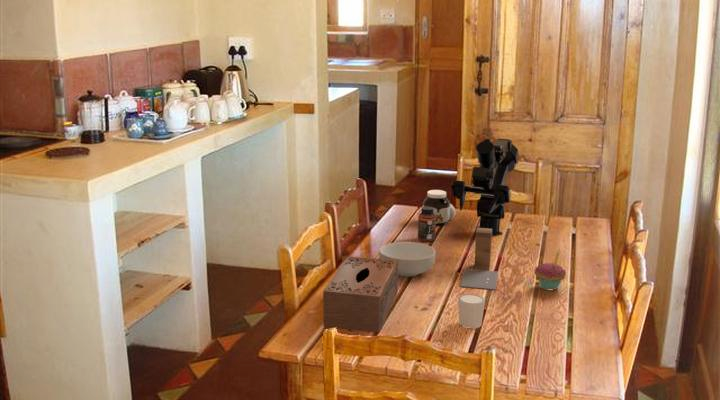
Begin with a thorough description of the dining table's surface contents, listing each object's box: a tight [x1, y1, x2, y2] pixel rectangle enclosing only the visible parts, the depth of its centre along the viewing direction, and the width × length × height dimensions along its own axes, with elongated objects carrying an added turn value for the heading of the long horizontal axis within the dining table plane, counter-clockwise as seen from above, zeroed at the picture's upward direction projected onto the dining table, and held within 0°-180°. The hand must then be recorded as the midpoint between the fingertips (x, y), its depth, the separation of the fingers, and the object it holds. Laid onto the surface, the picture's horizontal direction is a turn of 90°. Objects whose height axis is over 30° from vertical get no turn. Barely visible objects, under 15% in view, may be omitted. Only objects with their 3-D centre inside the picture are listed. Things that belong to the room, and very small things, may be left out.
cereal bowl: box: [378, 241, 437, 277], centre depth 224 cm, size 17×17×7 cm
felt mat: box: [460, 268, 499, 291], centre depth 219 cm, size 14×10×1 cm
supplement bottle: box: [417, 206, 437, 243], centre depth 252 cm, size 6×6×11 cm
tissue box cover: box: [322, 255, 399, 333], centre depth 197 cm, size 26×14×10 cm, turn 167°
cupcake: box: [534, 249, 567, 290], centre depth 212 cm, size 9×8×12 cm
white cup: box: [457, 293, 486, 330], centre depth 189 cm, size 7×7×7 cm
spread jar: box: [421, 189, 456, 227], centre depth 271 cm, size 12×11×12 cm
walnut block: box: [473, 227, 493, 271], centre depth 227 cm, size 4×4×12 cm
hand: (474, 211), depth 235 cm, fingers open, 9 cm apart
